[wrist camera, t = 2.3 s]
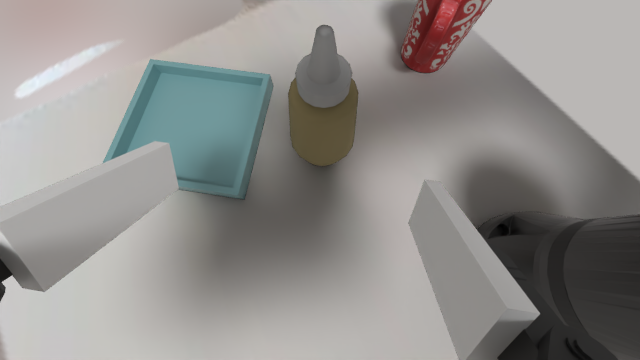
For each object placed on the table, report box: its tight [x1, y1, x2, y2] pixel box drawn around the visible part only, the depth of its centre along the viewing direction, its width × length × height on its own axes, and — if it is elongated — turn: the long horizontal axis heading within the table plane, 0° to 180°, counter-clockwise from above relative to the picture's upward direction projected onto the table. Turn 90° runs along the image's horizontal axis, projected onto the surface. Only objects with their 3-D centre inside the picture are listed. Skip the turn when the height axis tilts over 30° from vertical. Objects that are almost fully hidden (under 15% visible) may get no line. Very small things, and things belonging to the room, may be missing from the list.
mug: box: [401, 0, 492, 73], centre depth 30 cm, size 13×9×14 cm
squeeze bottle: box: [288, 25, 358, 166], centre depth 24 cm, size 8×8×18 cm
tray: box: [103, 59, 273, 200], centre depth 32 cm, size 18×18×2 cm
